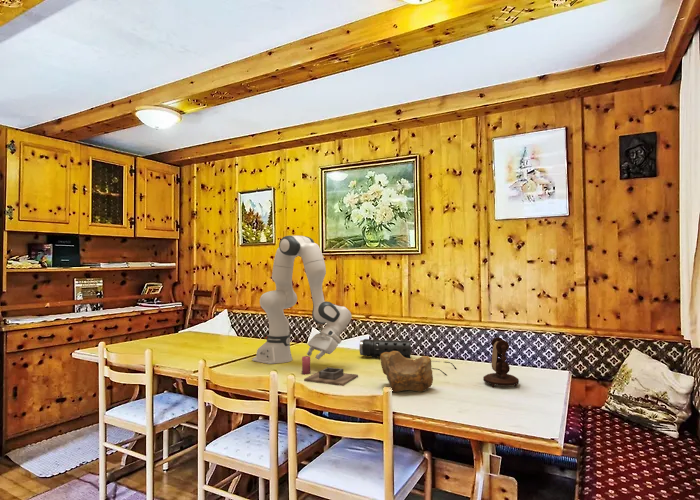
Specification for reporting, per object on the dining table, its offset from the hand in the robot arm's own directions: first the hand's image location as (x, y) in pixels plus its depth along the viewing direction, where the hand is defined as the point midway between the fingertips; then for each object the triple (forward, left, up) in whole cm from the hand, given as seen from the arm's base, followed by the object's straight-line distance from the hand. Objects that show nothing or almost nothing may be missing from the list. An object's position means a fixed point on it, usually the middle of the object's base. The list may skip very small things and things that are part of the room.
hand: (312, 356), depth 218 cm
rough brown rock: (+50, -10, -8) cm, 52 cm away
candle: (-2, -3, -8) cm, 8 cm away
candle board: (+14, -7, -8) cm, 17 cm away
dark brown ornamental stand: (+87, +14, -8) cm, 89 cm away
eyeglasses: (+54, +28, -8) cm, 61 cm away
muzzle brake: (+22, +43, -8) cm, 49 cm away
